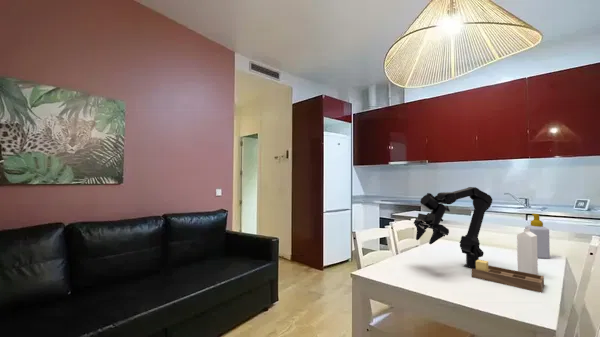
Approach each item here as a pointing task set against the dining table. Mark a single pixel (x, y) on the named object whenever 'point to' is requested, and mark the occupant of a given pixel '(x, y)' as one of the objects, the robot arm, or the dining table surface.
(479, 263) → the block
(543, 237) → the soap bottle
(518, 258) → the milk
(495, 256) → the dining table surface
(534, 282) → the wooden compartment tray
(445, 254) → the dining table surface
